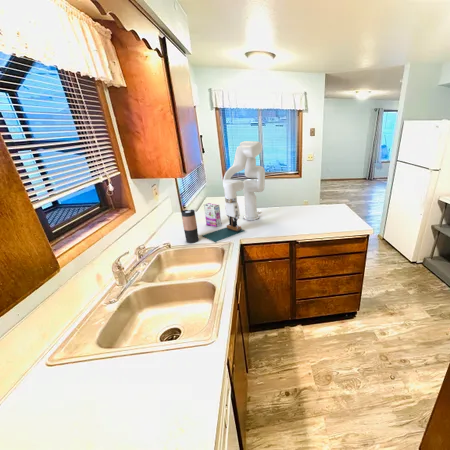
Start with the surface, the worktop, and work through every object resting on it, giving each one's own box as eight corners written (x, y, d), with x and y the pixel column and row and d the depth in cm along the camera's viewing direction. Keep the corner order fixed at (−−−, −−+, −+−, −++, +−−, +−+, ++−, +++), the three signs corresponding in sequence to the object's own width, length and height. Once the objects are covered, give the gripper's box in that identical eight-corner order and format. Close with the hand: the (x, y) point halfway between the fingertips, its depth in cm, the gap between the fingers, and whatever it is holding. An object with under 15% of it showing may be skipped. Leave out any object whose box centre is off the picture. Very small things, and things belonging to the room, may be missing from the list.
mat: (231, 226, 178) (231, 225, 178) (245, 231, 169) (245, 230, 169) (202, 236, 160) (202, 235, 160) (216, 242, 151) (216, 241, 151)
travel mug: (190, 244, 148) (186, 213, 141) (183, 241, 152) (178, 211, 145) (201, 240, 154) (197, 210, 147) (194, 237, 158) (189, 208, 151)
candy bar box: (222, 225, 179) (219, 204, 174) (217, 227, 175) (214, 206, 169) (211, 223, 184) (208, 202, 178) (206, 225, 180) (203, 204, 174)
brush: (231, 228, 173) (229, 215, 169) (241, 230, 168) (240, 218, 165) (227, 229, 170) (225, 217, 166) (237, 232, 165) (235, 219, 161)
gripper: (243, 201, 159) (245, 226, 166) (228, 197, 168) (230, 221, 175) (234, 203, 154) (236, 229, 160) (219, 199, 163) (222, 224, 169)
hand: (233, 225), depth 167 cm, fingers closed on brush, 3 cm apart
